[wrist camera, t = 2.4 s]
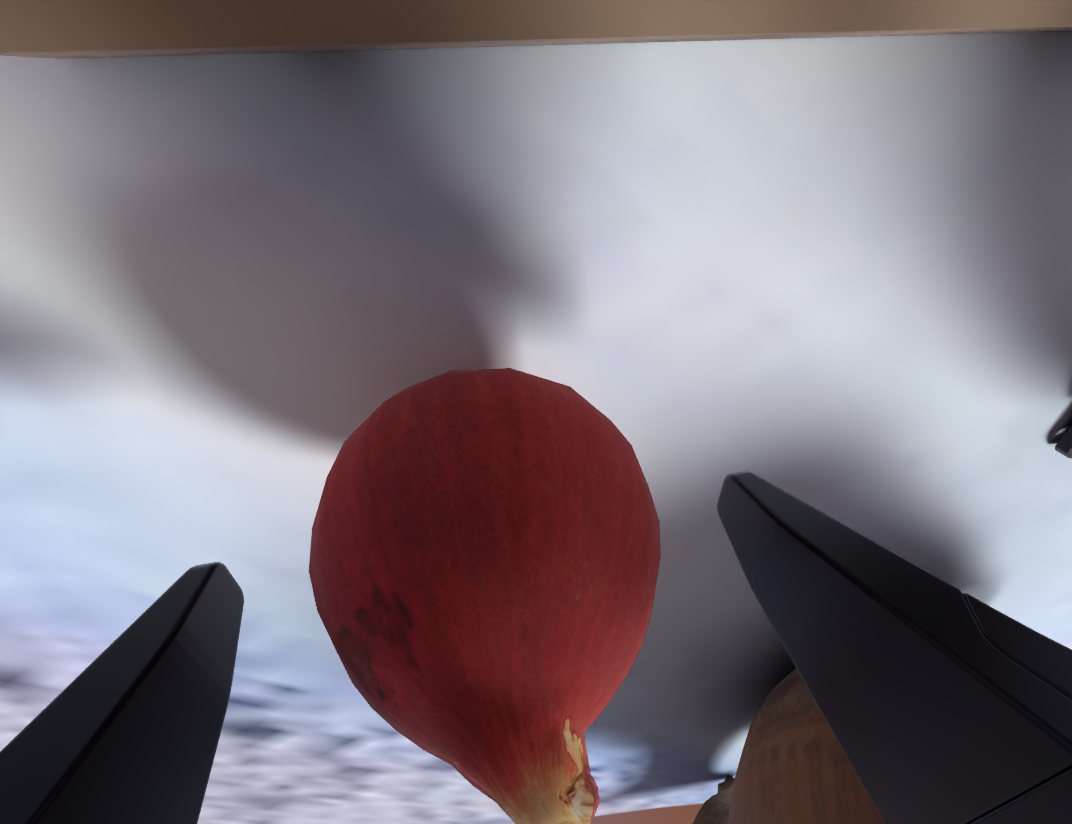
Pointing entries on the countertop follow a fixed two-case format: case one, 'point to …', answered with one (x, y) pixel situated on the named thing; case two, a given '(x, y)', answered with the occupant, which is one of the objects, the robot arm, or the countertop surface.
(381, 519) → the onion
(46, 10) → the stacking base
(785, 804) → the jug
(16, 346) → the countertop surface
